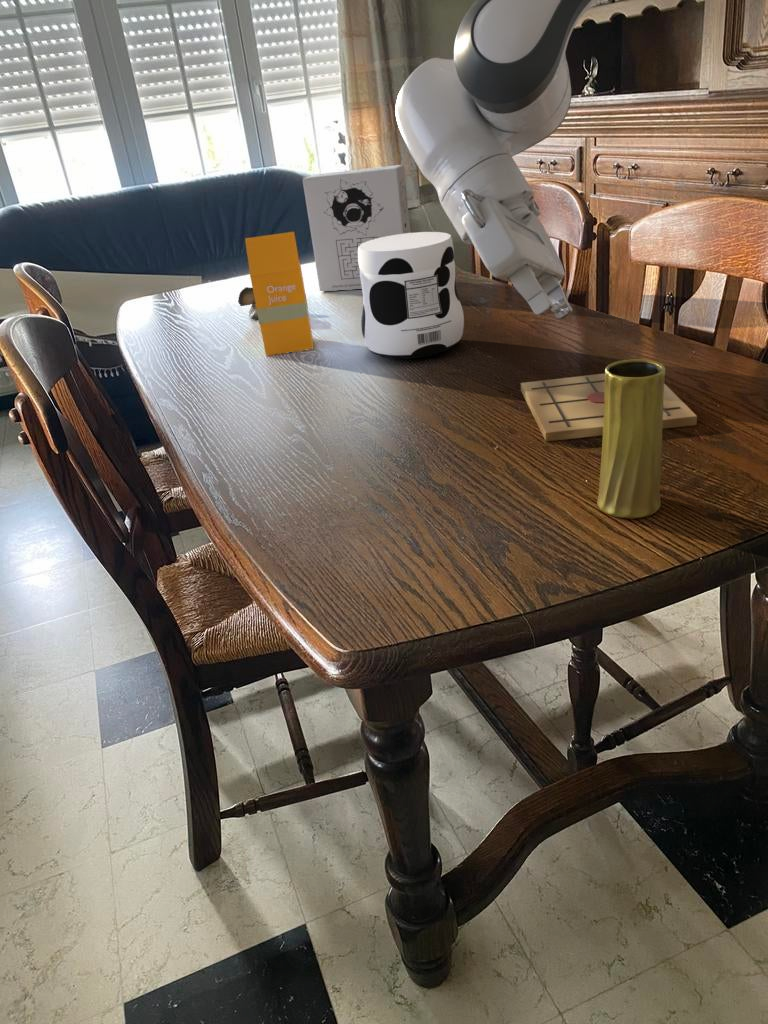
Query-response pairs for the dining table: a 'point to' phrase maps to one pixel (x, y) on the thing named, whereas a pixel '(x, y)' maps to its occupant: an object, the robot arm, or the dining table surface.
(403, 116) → the robot arm
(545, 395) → the board
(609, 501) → the vase
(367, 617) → the dining table surface
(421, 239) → the milk container
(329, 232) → the cereal box
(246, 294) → the eagle figurine
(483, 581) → the dining table surface
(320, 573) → the dining table surface
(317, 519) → the dining table surface
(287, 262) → the orange juice
